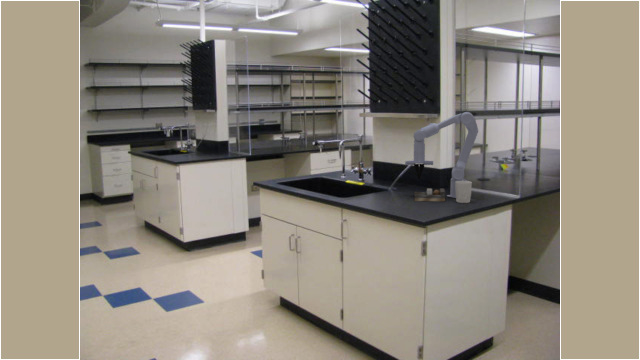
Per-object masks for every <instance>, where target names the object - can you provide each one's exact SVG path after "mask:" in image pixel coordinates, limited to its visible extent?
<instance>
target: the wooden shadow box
mask: <svg viewBox="0 0 640 360" xmlns="http://www.w3.org/2000/svg"><path fill="white" fill-rule="evenodd" d="M414 202H446V190H445V188H441V187H440V188H439V189H435V190H433V191H432V195H427V191H414Z"/></svg>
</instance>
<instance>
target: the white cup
mask: <svg viewBox="0 0 640 360" xmlns="http://www.w3.org/2000/svg"><path fill="white" fill-rule="evenodd" d="M472 184H473V182H472V181H469V180H468V181H456V182H455V188H456V198H455V202H457V203H460V204H468V203H471V198H472V186H473V185H472Z"/></svg>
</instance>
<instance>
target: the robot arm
mask: <svg viewBox="0 0 640 360" xmlns="http://www.w3.org/2000/svg"><path fill="white" fill-rule="evenodd" d="M461 123H462V125H463V126H465V128H466V130H467V134H466V137H465V139H464V143H463V146H462V148H461V151H460V153H459V157H458V159H457V162H456V163H455V166H453V168H452V170H451V178H450V192H449V193H450V194H447V195H446V197H449V198H454V199H456V188H455V182H456V181H469V179H468V180H467V179H466V178H465V170H466V167H467V166H466V165H467V163H468V160H469V158H470V155H471V152H472V150H473V147H474V144H475V141H476V138H477V136H478V133H479V128H478V124H477V121H476V118H475V116H474V115H473V114H472V113H471V112H470V111H464V112H463V113H459V114H455V115H453V116H451V117H448V118H447V119H444V120H442V121H441V122H438V123H435V122H430V123H429V124H428V125H426V126H424V127H420V129H417V130H416V131H415V132H414V133H413V139H414V140H413V160H405V161H404V164H405V166H413V167H414V169H415V171H416V175H417V180H418V179H419V180H420V179H421V177H422V173H423V170H424V168H425V166H434V160H426V158H425V157H426V154H425V153H426V151H425V150H426V144H425V138H426V139H427V138H430V137H432V136H435V135H436V134H439V133H440V130H441V129H444V128H446V127H448V126H450V125H453V124H461Z"/></svg>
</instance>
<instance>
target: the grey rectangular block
mask: <svg viewBox="0 0 640 360" xmlns="http://www.w3.org/2000/svg"><path fill="white" fill-rule="evenodd" d="M426 192H427V195H432V192H433V188H426Z"/></svg>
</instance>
